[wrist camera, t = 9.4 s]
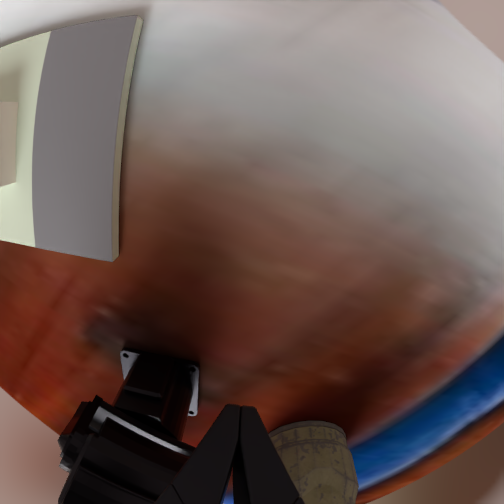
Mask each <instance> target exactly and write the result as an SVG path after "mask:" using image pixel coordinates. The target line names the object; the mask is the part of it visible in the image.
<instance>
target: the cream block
mask: <svg viewBox="0 0 504 504" xmlns="http://www.w3.org/2000/svg"><path fill="white" fill-rule="evenodd" d="M17 113H18V102H1V101H0V187H2V186H5V185H9V184H12V183H16V127H17Z"/></svg>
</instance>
